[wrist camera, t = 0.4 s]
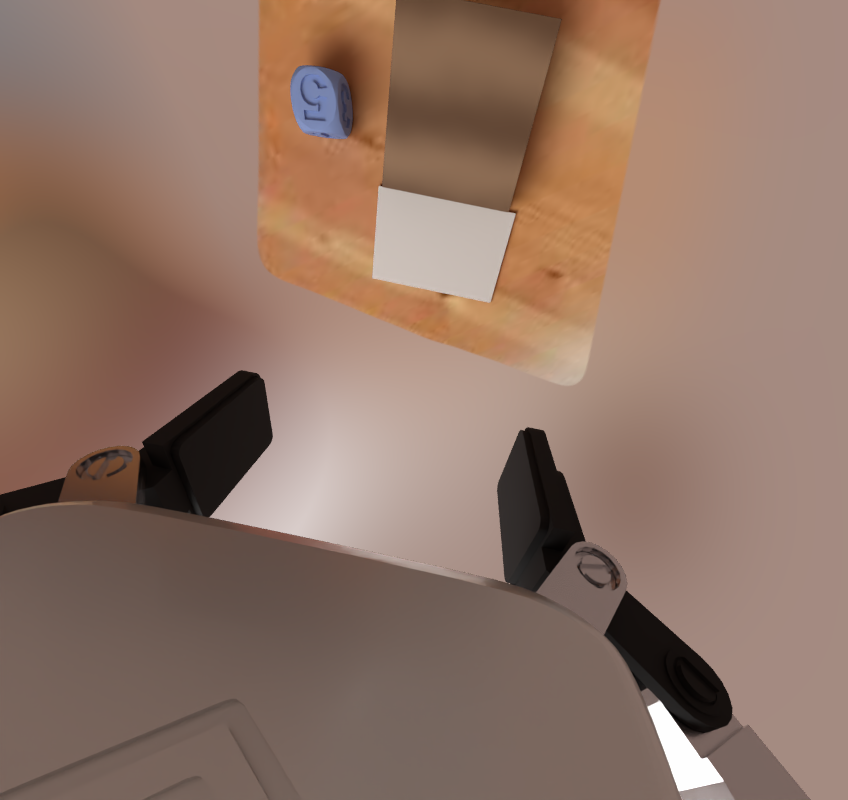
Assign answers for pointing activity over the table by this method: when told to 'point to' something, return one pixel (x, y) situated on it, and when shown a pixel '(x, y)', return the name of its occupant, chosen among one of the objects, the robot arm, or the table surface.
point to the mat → (439, 244)
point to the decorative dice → (321, 102)
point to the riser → (463, 98)
